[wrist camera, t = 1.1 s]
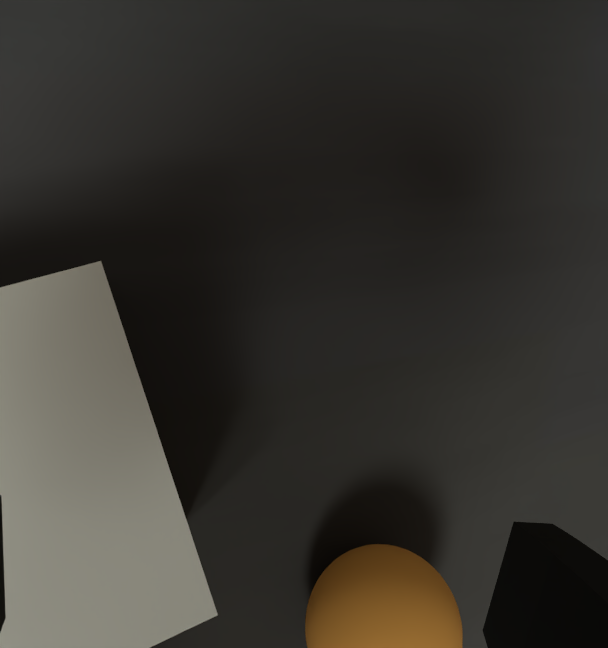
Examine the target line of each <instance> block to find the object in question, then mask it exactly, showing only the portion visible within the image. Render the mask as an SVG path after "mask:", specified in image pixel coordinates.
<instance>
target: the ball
mask: <svg viewBox="0 0 608 648" xmlns="http://www.w3.org/2000/svg"><path fill="white" fill-rule="evenodd" d="M305 634H306V643H307V647H308V648H462V623H461V618H460V614H459V610H458V606H457V604H456V601H455V598H454V596H453V594H452V592H451V590H450V588H449V586H448V585H447V584H446V582H445V581H444V579H443V578H442V577H441V575H440V574H439V573H438V572H437V571H436V570H435V569H434V568H433V567H432V566H431V565H430V564H429V563H428V562H427V561H425V560H424V559H423V558H421V557H420V556H418V555H416V554H415V553H413V552H411V551H409V550H406V549H403V548H400V547H397V546H393V545H386V544H371V545H365V546H361V547H358V548H355V549H352V550H350V551H348V552H346V553H344V554H342V555H341V556H339V557H338V558H337V559H335V560H334V561H333V562H332V563H331V564H330V565H329V566H328V567H327V568H326V569H325V570H324V571H323V573H322V574H321V576H320V577H319V579H318V580H317V582H316V584H315V586H314V588H313V590H312V593H311V595H310V598H309V602H308V606H307V611H306V618H305Z"/></svg>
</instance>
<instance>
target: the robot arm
mask: <svg viewBox="0 0 608 648" xmlns="http://www.w3.org/2000/svg"><path fill="white" fill-rule="evenodd" d="M5 618H6V614H5V585H4V556H3V527H2V498H1V495H0V632H1V629H2V626H3V624H4V621H5ZM483 633H484V636H485V640H486V643H487V646H488V648H608V560H606V559H605V558H603V557H602V556H600V555H599V554H598V553H596V552H595V551H593V550H592V549H590V548H589V547H588V546H586V545H585V544H583V543H582V542H580V541H579V540H577V539H576V538H574V537H573V536H571V535H570V534H568V533H567V532H565V531H563V530H562V529H560V528H558V527H557V526H555V525H553V524H546V523H527V522H514V523H513V526H512V530H511V533H510V537H509V540H508V544H507V547H506V551H505V554H504V558H503V561H502V565H501V568H500V572H499V575H498V579H497V582H496V586H495V589H494V593H493V596H492V600H491V603H490V607H489V610H488V614H487V617H486V621H485V624H484V628H483Z"/></svg>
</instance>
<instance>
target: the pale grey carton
mask: <svg viewBox="0 0 608 648" xmlns="http://www.w3.org/2000/svg"><path fill="white" fill-rule="evenodd" d="M0 495H1V498H2V527H3V556H4V585H5V614H6V618H5V621H4V624H3V626H2V629H1V632H0V648H150V647H152V646H154V645H156V644H158V643H160V642H162V641H165V640H167V639H169V638H171V637H173V636H175V635H177V634H179V633H181V632H183V631H185V630H188V629H190V628H192V627H194V626H196V625H198V624H200V623H202V622H204V621H206V620H209V619H211V618H213V617H215V616H217V615H218V614H217V611H216V608H215V605H214V602H213V599H212V596H211V593H210V590H209V587H208V584H207V581H206V578H205V575H204V572H203V569H202V566H201V563H200V560H199V557H198V554H197V551H196V548H195V545H194V542H193V538H192V535H191V532H190V529H189V526H188V523H187V520H186V517H185V514H184V511H183V508H182V505H181V502H180V499H179V496H178V493H177V490H176V487H175V484H174V481H173V478H172V475H171V472H170V469H169V466H168V463H167V460H166V457H165V454H164V451H163V448H162V445H161V441H160V438H159V435H158V432H157V429H156V426H155V423H154V420H153V417H152V414H151V411H150V408H149V405H148V402H147V399H146V396H145V393H144V390H143V387H142V384H141V381H140V378H139V375H138V372H137V369H136V366H135V363H134V360H133V357H132V354H131V351H130V348H129V344H128V341H127V338H126V335H125V332H124V329H123V326H122V323H121V320H120V317H119V314H118V311H117V308H116V305H115V302H114V299H113V296H112V293H111V290H110V287H109V284H108V281H107V278H106V275H105V272H104V269H103V266H102V263H101V261H99V262H95V263H91V264H87V265H84V266H80V267H76V268H72V269H68V270H65V271H61V272H57V273H53V274H50V275H46V276H42V277H38V278H34V279H31V280H27V281H23V282H19V283H15V284H12V285H8V286H4V287H0Z"/></svg>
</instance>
